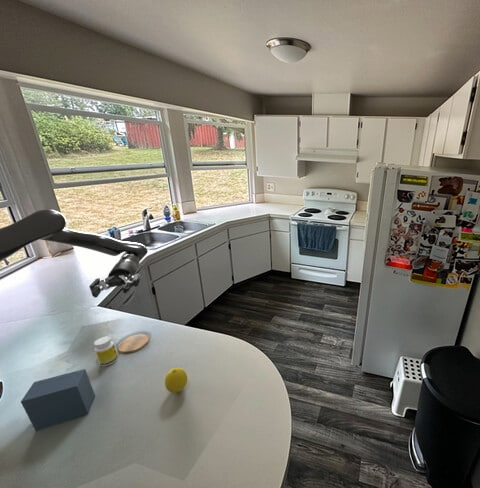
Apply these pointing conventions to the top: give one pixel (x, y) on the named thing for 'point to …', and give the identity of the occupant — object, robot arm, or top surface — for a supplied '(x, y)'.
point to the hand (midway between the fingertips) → (109, 293)
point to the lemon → (175, 380)
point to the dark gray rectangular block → (58, 399)
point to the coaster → (133, 343)
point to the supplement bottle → (105, 351)
